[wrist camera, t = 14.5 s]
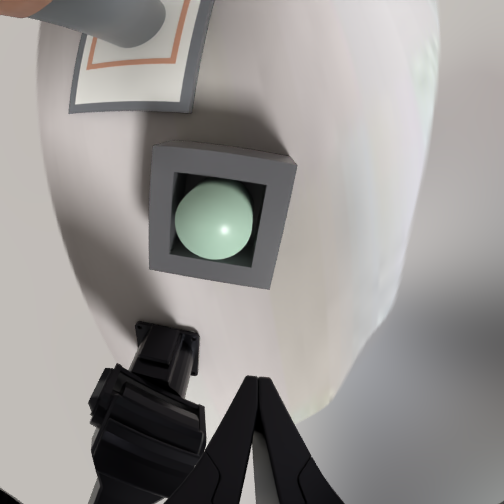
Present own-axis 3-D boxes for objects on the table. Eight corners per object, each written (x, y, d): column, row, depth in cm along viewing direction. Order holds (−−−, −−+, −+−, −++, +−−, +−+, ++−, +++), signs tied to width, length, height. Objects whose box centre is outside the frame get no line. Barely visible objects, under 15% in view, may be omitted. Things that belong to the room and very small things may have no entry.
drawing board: (191, 113, 16) (187, 112, 15) (75, 113, 16) (67, 113, 15) (227, -45, 10) (226, -52, 9) (110, -31, 10) (104, -35, 9)
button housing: (268, 260, 21) (269, 289, 18) (167, 243, 21) (149, 269, 17) (290, 156, 18) (297, 165, 14) (174, 140, 17) (152, 145, 14)
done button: (247, 243, 19) (245, 264, 16) (185, 233, 19) (173, 253, 16) (258, 181, 17) (258, 192, 14) (190, 171, 17) (177, 181, 14)
